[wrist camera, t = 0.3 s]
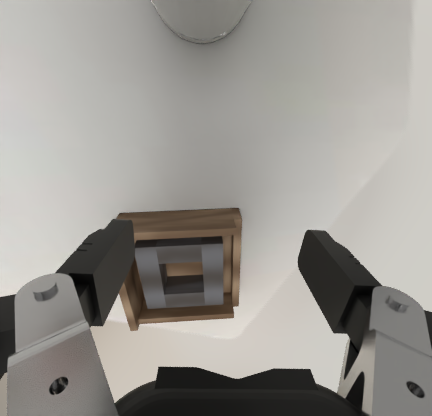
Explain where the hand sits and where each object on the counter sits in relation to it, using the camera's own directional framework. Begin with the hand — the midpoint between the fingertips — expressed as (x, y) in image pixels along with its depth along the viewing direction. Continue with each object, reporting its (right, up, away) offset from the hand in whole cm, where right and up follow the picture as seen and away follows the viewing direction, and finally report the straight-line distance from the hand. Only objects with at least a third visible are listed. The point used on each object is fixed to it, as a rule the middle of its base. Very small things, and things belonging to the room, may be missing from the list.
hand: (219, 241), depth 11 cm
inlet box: (-5, -6, +24) cm, 25 cm away
